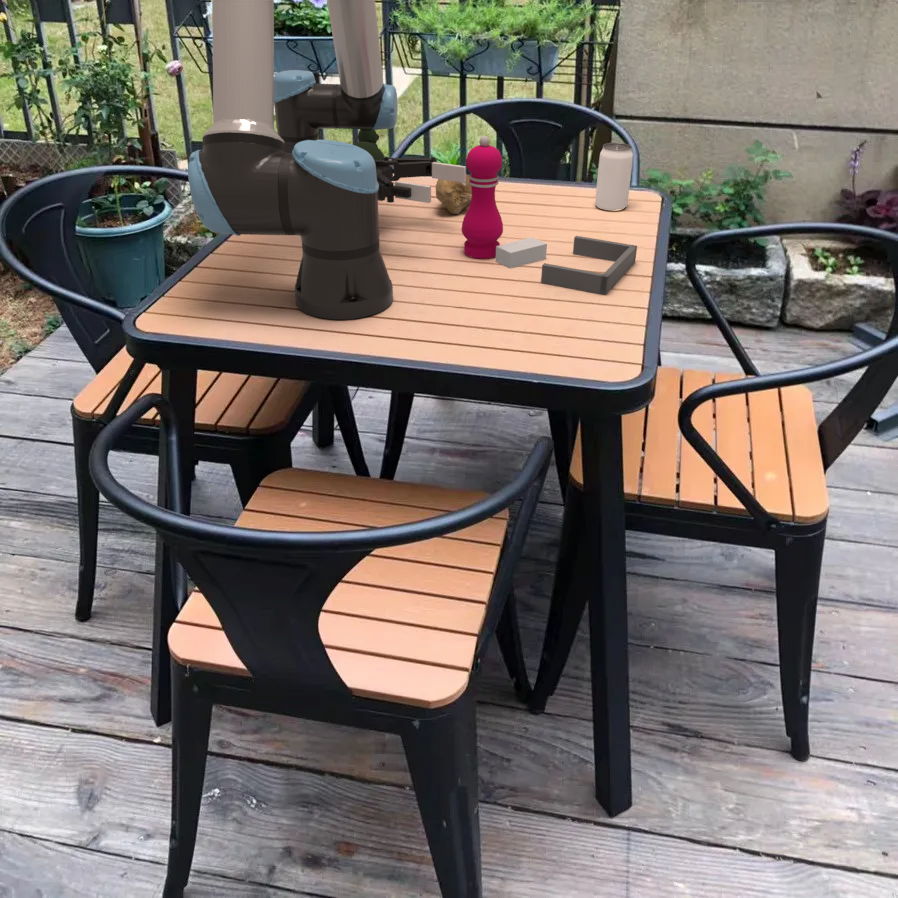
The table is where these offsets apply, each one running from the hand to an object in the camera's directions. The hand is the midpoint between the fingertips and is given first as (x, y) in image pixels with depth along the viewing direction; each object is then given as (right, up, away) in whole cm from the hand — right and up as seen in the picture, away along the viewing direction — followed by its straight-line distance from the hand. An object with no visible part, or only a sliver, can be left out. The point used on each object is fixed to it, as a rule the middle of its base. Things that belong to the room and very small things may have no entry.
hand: (448, 184), depth 150 cm
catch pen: (+24, -16, -5) cm, 29 cm away
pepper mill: (+6, -11, +3) cm, 13 cm away
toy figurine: (-17, +9, +35) cm, 40 cm away
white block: (+13, -13, 0) cm, 18 cm away
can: (+33, +3, +25) cm, 42 cm away
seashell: (+1, +3, +25) cm, 25 cm away
